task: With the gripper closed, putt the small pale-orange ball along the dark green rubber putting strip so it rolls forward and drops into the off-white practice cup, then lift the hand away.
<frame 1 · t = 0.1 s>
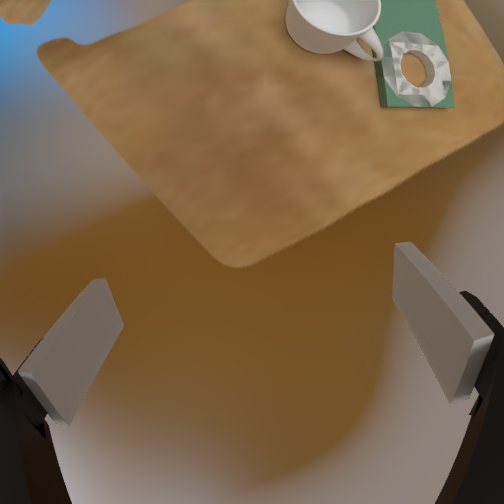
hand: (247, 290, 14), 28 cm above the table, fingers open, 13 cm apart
putting strip: (402, 29, 30), on the table
mug: (329, 34, 32), on the table
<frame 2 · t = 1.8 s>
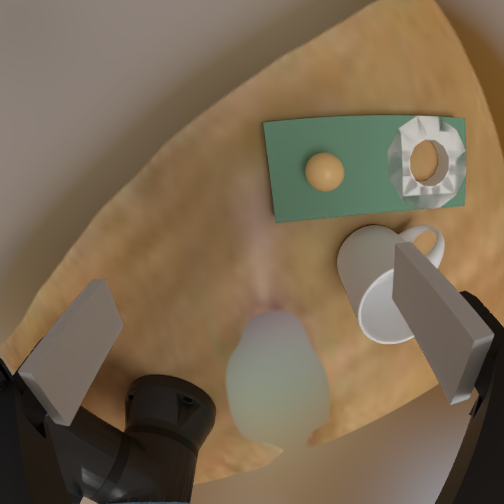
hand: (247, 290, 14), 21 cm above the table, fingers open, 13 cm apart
putting strip: (371, 161, 31), on the table
ball: (324, 171, 28), point 4 cm above the table, touching putting strip
mug: (380, 247, 35), on the table
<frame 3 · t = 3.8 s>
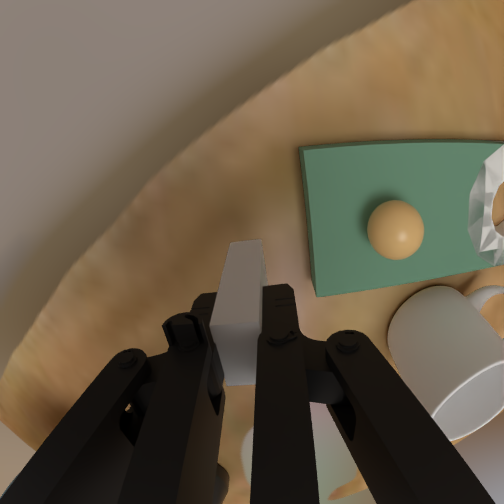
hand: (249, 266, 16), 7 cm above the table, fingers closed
putting strip: (442, 203, 21), on the table
ball: (395, 230, 18), point 4 cm above the table, touching putting strip
mug: (438, 309, 25), on the table
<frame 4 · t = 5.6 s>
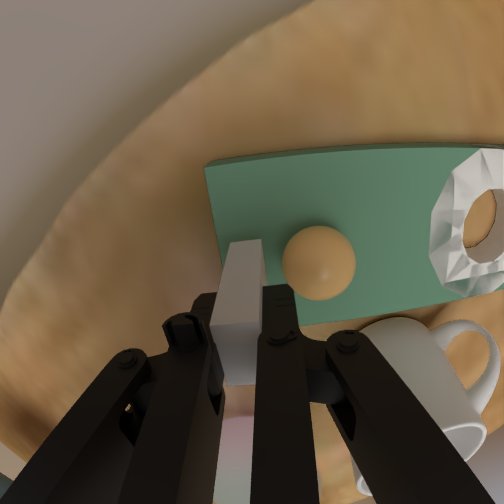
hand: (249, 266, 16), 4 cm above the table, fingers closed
putting strip: (399, 222, 19), on the table
ball: (319, 263, 15), point 4 cm above the table, touching putting strip
mug: (399, 342, 23), on the table
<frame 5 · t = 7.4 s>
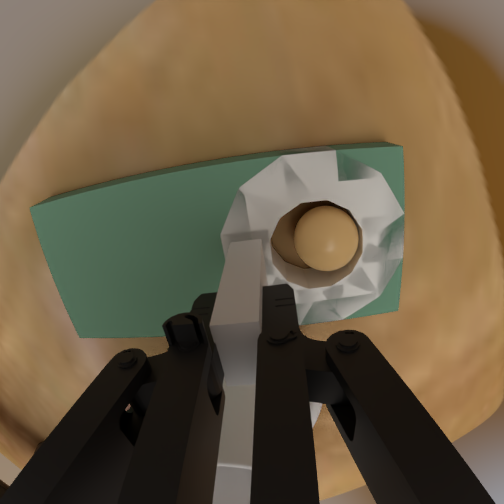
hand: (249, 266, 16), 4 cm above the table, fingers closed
putting strip: (213, 242, 20), on the table
ball: (326, 238, 17), point 2 cm above the table, tilted 95°
mug: (253, 361, 24), on the table
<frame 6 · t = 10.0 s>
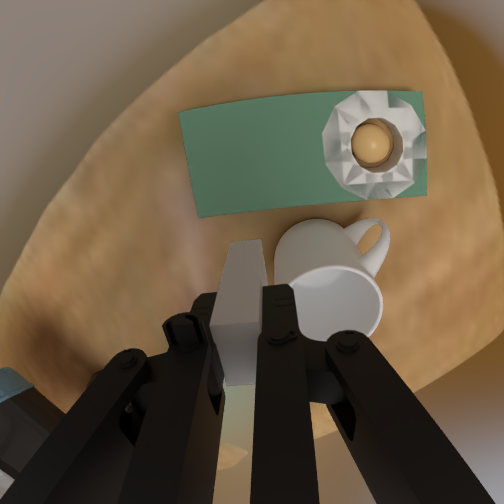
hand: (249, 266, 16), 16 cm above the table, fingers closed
putting strip: (309, 146, 29), on the table
ball: (370, 143, 26), point 2 cm above the table, tilted 60°
mug: (326, 243, 33), on the table
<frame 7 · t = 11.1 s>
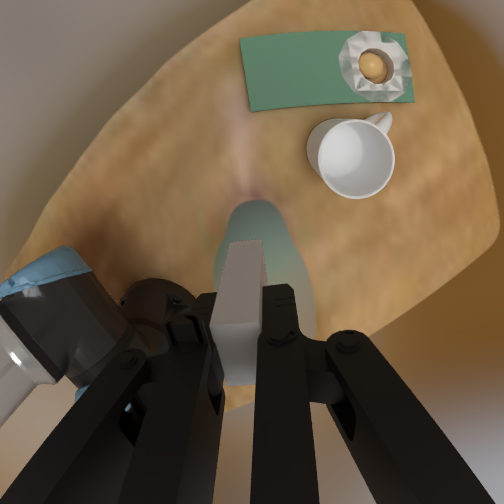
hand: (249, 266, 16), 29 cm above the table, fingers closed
putting strip: (328, 68, 36), on the table
ball: (370, 65, 34), point 2 cm above the table, tilted 55°
mug: (344, 140, 40), on the table
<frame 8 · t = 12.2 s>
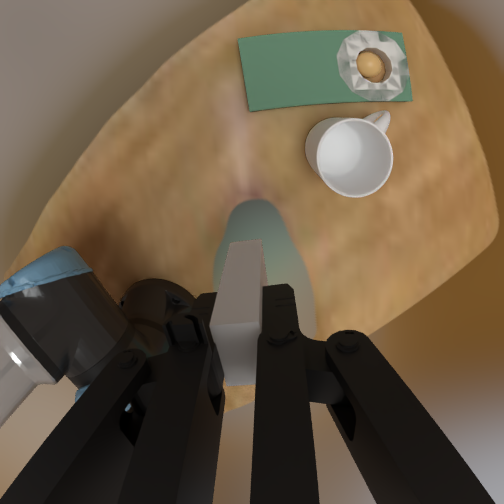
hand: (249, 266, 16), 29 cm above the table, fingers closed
putting strip: (326, 68, 36), on the table
ball: (368, 64, 34), point 2 cm above the table, tilted 56°
mug: (343, 139, 41), on the table
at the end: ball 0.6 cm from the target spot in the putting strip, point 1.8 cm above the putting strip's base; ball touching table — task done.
